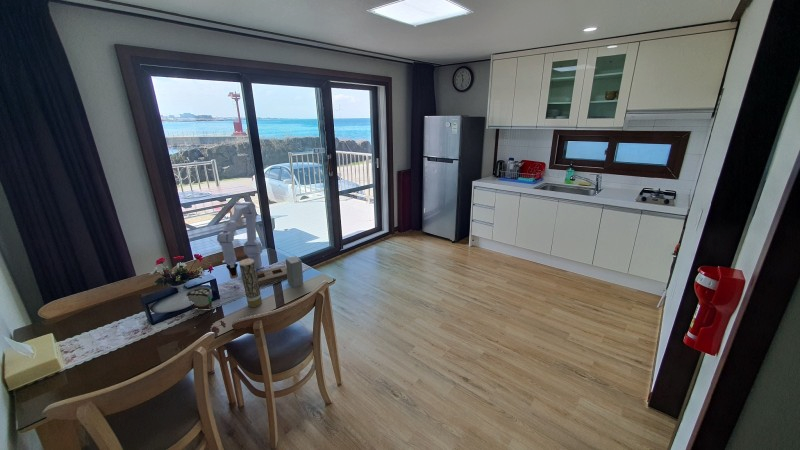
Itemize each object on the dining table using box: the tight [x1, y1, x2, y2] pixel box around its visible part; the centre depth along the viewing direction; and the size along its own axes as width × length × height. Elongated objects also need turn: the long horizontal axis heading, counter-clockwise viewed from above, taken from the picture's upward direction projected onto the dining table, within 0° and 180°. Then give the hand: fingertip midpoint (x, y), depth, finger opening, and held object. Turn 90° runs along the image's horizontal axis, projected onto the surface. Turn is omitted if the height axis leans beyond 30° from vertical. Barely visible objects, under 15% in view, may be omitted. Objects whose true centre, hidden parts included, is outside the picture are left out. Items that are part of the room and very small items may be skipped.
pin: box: [228, 268, 239, 280], centre depth 176 cm, size 4×4×8 cm
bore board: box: [256, 264, 287, 287], centre depth 187 cm, size 12×22×3 cm, turn 123°
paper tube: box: [238, 258, 263, 308], centre depth 158 cm, size 7×7×25 cm
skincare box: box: [285, 255, 304, 288], centre depth 179 cm, size 8×7×16 cm
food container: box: [185, 287, 213, 310], centre depth 158 cm, size 12×6×10 cm, turn 84°
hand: (233, 273), depth 177 cm, fingers closed on pin, 4 cm apart
